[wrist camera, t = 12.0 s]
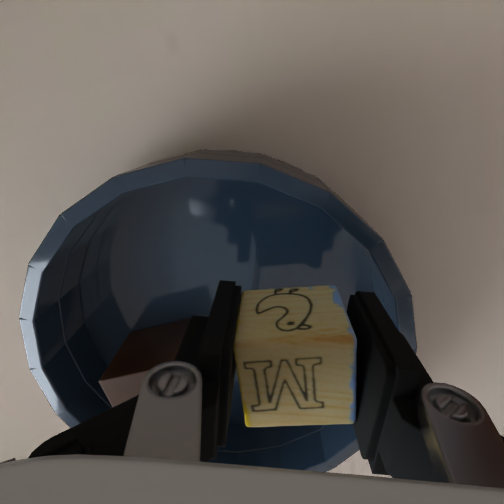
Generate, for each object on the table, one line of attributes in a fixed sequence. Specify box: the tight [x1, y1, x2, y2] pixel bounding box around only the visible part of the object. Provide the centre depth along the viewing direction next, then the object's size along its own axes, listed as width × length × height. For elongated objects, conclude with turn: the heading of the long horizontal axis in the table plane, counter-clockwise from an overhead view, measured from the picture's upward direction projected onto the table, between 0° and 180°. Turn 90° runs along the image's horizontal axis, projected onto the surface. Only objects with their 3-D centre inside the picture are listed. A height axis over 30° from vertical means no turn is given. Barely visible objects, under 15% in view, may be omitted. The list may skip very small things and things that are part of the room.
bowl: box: [19, 149, 417, 472], centre depth 15 cm, size 15×15×4 cm
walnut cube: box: [99, 318, 191, 407], centre depth 16 cm, size 4×4×4 cm
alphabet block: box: [233, 285, 357, 427], centre depth 10 cm, size 3×3×3 cm
